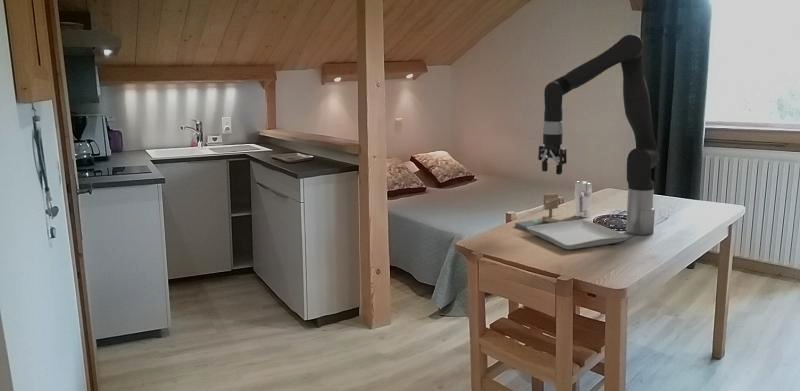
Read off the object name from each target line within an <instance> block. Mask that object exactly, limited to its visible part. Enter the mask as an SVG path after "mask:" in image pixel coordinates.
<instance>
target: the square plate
mask: <svg viewBox="0 0 800 391" xmlns="http://www.w3.org/2000/svg"><path fill="white" fill-rule="evenodd" d="M563 221H564V220H563ZM526 228H527V229H528V230H529V231H528V232H529V233H531V234H532V235H535V236H537V237H539V238H540V239H542V240H545V241H547V242H548V243H549V242H550V243H551V244H553V245H556V246H557V247H560V248H563V249H565V250H577V249H585V248H592V247H598V246H606V245H610V244H617V243H621V242H624V241H625V240H626V239H628V238H629V235H627V234H625V233H622V232H619V231H618V230H615V229H612V228H610V227H606V226H603V225H600V224H598V223H595V222H591V221H589V220H585V219H578V220H577V219H575V220H566V221H564V222H556V223H549V224H542V225H536V226H530V227H526Z"/></svg>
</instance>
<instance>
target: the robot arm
mask: <svg viewBox="0 0 800 391" xmlns="http://www.w3.org/2000/svg"><path fill="white" fill-rule="evenodd" d="M643 50H644V42H643V40H642V39H641V37H640V36H638V35H636V34H633V33H632V34H631V33H630V34H626V35H623V37H621V38H620V39H619V40H618V41H617V42H616V43H614V44H613V45H612V46H611V47H609V48H608V49H606V50H605V51H604V52H602V53H600V54H599V55H597V56H595V57H593V58H592V59H589V60H587V61H585V62H584V63H582V64H580V65H578V66H577V67H575V68H573V69H571V70H570V71H568V72H567V73H565V74H564V75H562V76H560V77H558V78H556V79H554V80H553V81H550V82H548V84H546V86H545V87H544V95H543V97H544V114H543V115H544V116H543V117H544V118H543V128H542V132H543V133H542V145H539V146H538V155H537V157H538V159H537V160H539V161H540V162H541V171H542V172H548V166H549V164H548V161H549V159H553V161H554V162H555V164H556V166H555V168H556V170H555V172H556V173H555V174H556V175H562V174H563V166H564V165H565V164H567V160H568V159H567V149H566V148H561V145H563V132H564V126H563V108H562V107H563V96H565V95H566V94H568V93H569V92H571V91H573V90H575V89H577V88H579V87H582V86H583V85H585V84H587V83H588V82H590V81H593V79H595V78H596V77H598V76H599V75H601V74H602V73H603V72H605V71H607V70H608V69H610V68H612V67H614V66H616V65H618V64H620V66H621V71H622V95H623V96H622V98H623V106H624V115H625V117H626V120H627V121H628V123H629V125H630V128H631V129H632V132H633V135H634V141H635V148H633V149H631V150H630V151H629V153H628V154H627V158H626V182H627V185H628V186H627V204H626V222H625V223H626V227H625V231H626V232H627V233H629V234H633V235H639V236H645V235H650V234H654V231H655V230H654V227H655V215H656V214H655V212H656V209H655V208H654V193H655V190H654V189H655V182H654V181H653V180H652V178H651V176H652V175H651V174H652V173H651V171H652V170H651V169H654V168H656V166H657V165H658V163H659V158H660V157H659V151H658V150H659V149H658V146H657V142H656V138H655V134H654V133H655V132H654V126H653V124H654V123H653V117H652V109H651V108H652V107H651V100H650V92H649V89H648V84H647V81H646V77H645V73H644V68H643V67H644V66H643V52H644V51H643Z"/></svg>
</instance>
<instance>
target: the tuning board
mask: <svg viewBox="0 0 800 391" xmlns="http://www.w3.org/2000/svg"><path fill="white" fill-rule="evenodd" d="M540 221H542V218H538V219H537V218H536V219H532V220H531V219H530V220H526V221H525V220H524V221H518V222H515V223H514V224H515V225H514V227H516V228H518V229H521V230H524V231H527V232H530V231H529V230H528V229H527V228H526V227H530V226H536V225H542V224H549V223H544V222H543V223H537V224H535V223H534V222H540ZM558 222H564V220H560V219H558Z"/></svg>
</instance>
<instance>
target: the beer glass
mask: <svg viewBox="0 0 800 391" xmlns="http://www.w3.org/2000/svg"><path fill="white" fill-rule="evenodd" d="M592 188H593V187H592V181H590V180H575V185H574V199H575V211H574V212H575V213H574V216H575V217H576V218H589V217H590V209H589V208H590V203H591V197H592V191H593V190H592Z"/></svg>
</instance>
